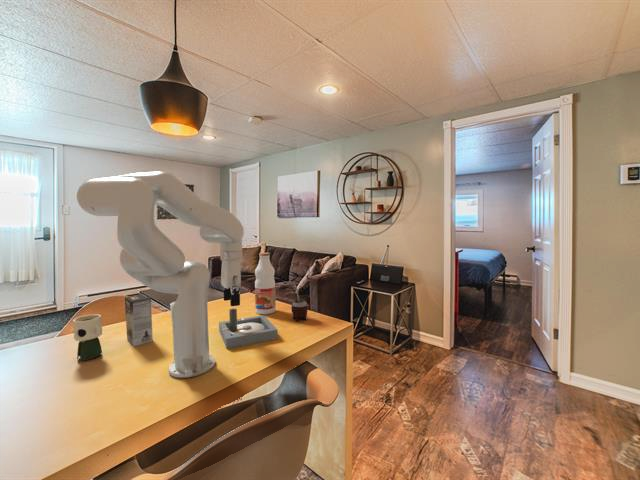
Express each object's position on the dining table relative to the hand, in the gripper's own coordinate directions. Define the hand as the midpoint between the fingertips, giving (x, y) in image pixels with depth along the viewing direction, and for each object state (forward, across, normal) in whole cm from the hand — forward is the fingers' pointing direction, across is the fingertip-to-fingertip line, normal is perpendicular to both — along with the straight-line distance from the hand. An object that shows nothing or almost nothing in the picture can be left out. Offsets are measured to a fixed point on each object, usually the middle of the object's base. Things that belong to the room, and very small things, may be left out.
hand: (231, 302), depth 107 cm
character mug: (+15, -10, -42) cm, 46 cm away
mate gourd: (+12, -6, +31) cm, 34 cm away
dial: (+12, -1, +6) cm, 13 cm away
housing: (+13, -1, +6) cm, 15 cm away
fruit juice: (+12, -24, +22) cm, 35 cm away
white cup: (+13, -24, -14) cm, 31 cm away
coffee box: (+14, -17, -29) cm, 36 cm away
